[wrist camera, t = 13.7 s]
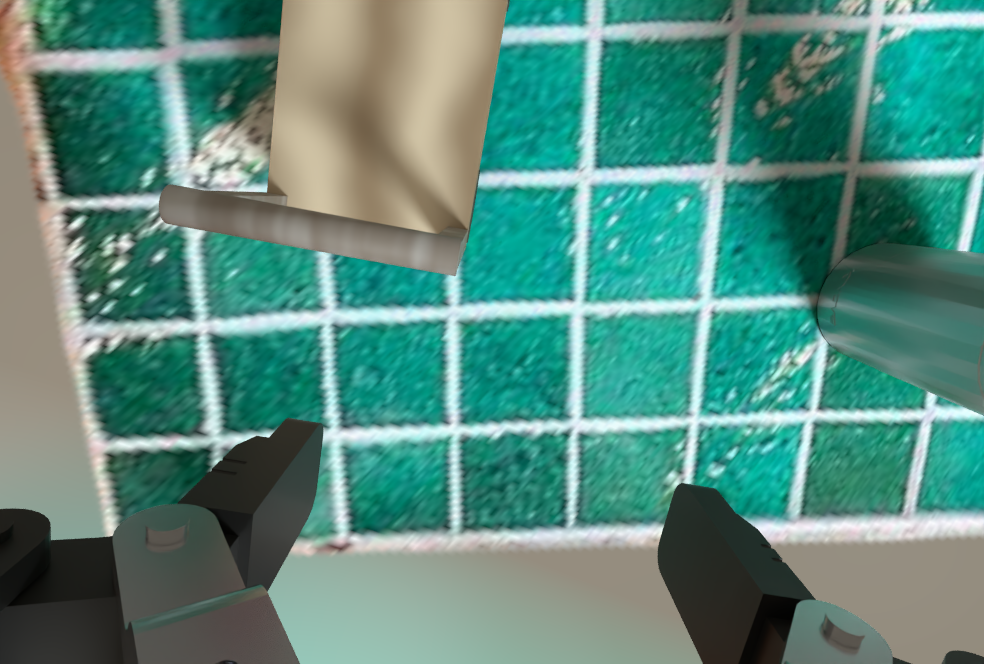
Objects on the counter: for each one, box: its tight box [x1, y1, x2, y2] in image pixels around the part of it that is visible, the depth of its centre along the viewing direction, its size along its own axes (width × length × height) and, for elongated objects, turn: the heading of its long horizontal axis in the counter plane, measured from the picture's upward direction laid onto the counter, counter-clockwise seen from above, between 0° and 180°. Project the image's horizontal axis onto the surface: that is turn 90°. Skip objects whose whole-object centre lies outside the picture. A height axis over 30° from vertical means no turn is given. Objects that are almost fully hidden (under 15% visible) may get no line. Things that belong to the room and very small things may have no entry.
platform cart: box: [159, 0, 510, 276], centre depth 29 cm, size 12×20×19 cm, turn 170°
